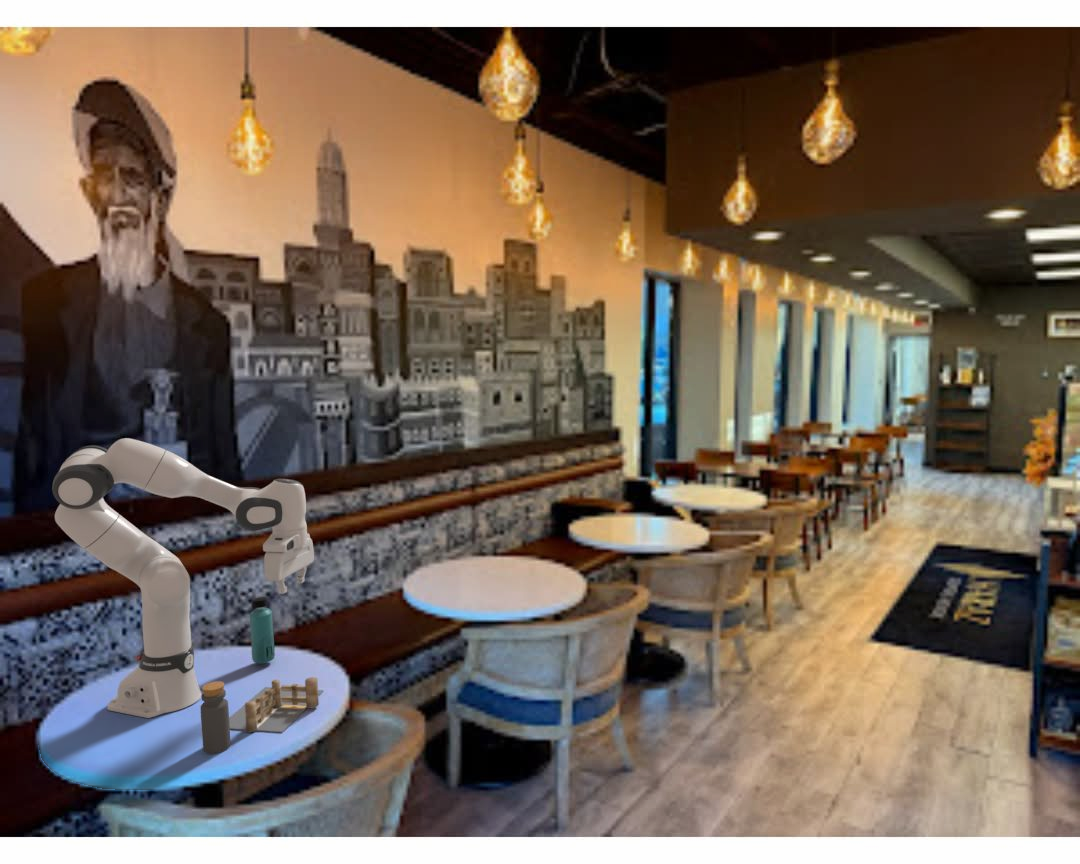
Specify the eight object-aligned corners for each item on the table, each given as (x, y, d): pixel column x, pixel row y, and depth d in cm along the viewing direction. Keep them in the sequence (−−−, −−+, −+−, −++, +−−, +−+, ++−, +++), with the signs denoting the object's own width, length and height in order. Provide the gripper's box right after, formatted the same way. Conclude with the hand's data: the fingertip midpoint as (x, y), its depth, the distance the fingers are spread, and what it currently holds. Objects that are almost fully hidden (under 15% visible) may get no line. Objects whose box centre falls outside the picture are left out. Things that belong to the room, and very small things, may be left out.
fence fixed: (244, 731, 172) (242, 705, 172) (274, 704, 186) (273, 679, 186) (253, 732, 172) (252, 705, 171) (283, 704, 186) (282, 679, 185)
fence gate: (285, 701, 186) (283, 676, 186) (320, 702, 186) (319, 677, 185) (280, 707, 184) (278, 681, 183) (315, 708, 183) (314, 682, 182)
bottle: (229, 751, 164) (225, 689, 163) (201, 756, 163) (197, 693, 161) (232, 739, 170) (228, 678, 168) (205, 743, 168) (201, 682, 167)
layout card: (217, 728, 175) (217, 727, 175) (265, 688, 196) (265, 686, 196) (282, 732, 172) (282, 731, 172) (323, 691, 194) (323, 689, 194)
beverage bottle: (267, 669, 209) (263, 602, 207) (247, 667, 210) (243, 601, 208) (280, 660, 215) (276, 595, 213) (260, 658, 216) (256, 594, 214)
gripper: (298, 529, 204) (299, 576, 206) (258, 546, 184) (260, 598, 186) (319, 529, 203) (320, 577, 205) (281, 547, 183) (283, 600, 185)
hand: (291, 587), depth 195 cm, fingers open, 8 cm apart
